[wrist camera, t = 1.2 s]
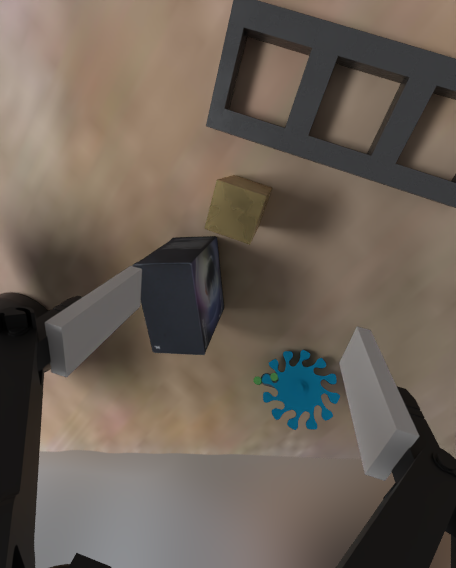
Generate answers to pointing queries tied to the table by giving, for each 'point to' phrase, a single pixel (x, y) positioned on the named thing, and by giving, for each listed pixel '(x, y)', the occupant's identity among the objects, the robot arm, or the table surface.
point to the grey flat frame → (322, 57)
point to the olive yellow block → (237, 208)
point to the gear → (298, 389)
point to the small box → (182, 294)
